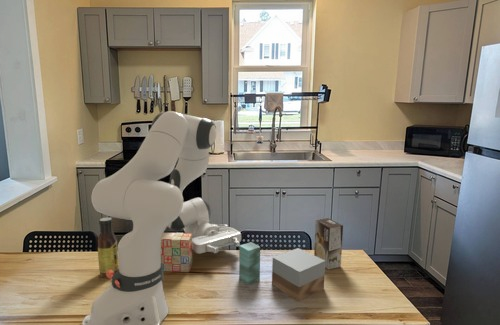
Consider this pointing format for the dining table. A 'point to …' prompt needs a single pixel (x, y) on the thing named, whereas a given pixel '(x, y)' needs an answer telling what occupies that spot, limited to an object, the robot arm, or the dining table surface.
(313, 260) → the tower top
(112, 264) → the sauce bottle
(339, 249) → the coffee box
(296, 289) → the tower base
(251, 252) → the teal block
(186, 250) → the stack of blocks
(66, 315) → the dining table surface
